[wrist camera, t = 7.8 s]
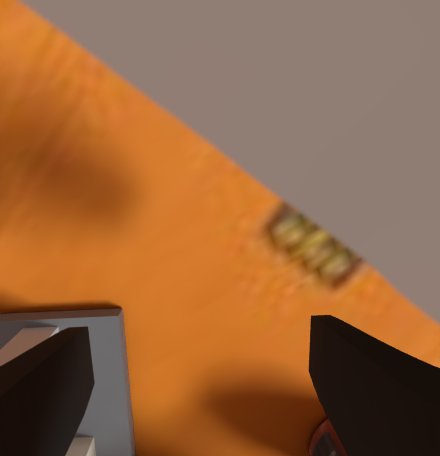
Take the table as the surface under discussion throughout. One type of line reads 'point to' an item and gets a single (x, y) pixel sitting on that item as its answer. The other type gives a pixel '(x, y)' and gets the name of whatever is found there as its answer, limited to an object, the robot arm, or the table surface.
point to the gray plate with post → (102, 368)
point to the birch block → (82, 447)
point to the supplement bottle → (326, 441)
